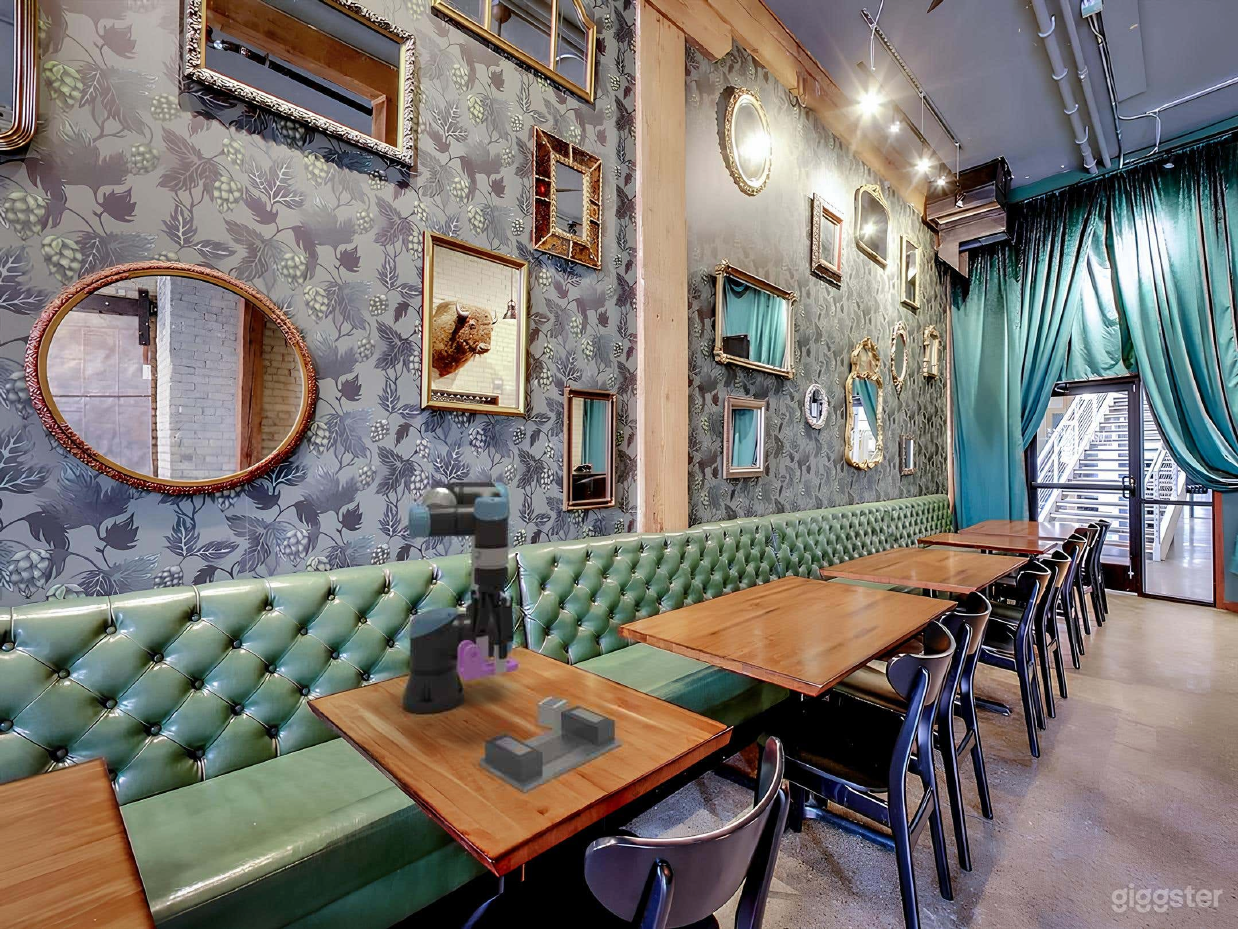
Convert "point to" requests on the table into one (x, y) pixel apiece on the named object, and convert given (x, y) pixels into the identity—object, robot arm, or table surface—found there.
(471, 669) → the bracket
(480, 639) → the robot arm
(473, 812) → the table surface
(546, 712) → the block
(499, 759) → the rail board
